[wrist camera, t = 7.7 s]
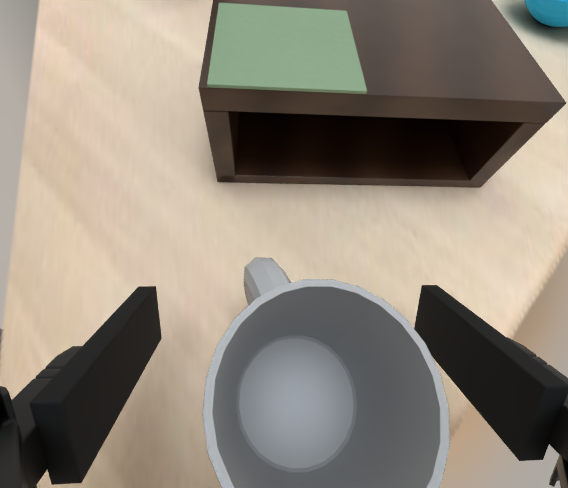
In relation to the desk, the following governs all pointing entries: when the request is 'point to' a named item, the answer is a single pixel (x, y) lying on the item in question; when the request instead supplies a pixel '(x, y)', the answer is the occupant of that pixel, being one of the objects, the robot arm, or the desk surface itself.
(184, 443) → the desk surface
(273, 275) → the cup
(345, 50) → the shelf
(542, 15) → the blue rounded piece
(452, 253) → the desk surface
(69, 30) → the desk surface
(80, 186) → the desk surface
